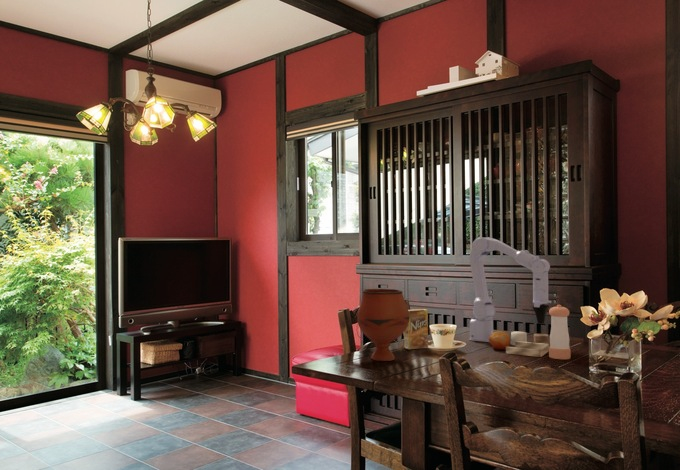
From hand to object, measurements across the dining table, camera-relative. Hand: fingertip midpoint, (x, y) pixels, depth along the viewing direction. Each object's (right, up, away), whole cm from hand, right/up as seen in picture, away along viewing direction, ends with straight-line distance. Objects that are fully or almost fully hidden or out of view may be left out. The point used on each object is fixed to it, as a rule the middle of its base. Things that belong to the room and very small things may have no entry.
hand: (541, 323), depth 217 cm
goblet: (-65, -10, -19) cm, 68 cm away
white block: (-7, -10, +6) cm, 13 cm away
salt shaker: (0, -9, -19) cm, 21 cm away
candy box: (-50, -10, 0) cm, 51 cm away
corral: (-8, -9, -9) cm, 15 cm away
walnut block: (0, -10, 0) cm, 10 cm away
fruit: (-17, -10, -3) cm, 20 cm away
